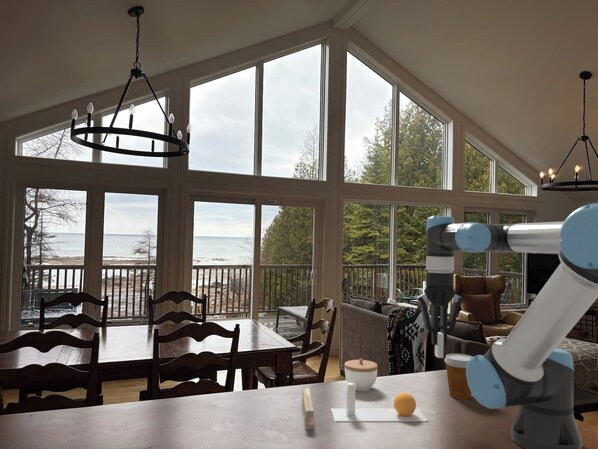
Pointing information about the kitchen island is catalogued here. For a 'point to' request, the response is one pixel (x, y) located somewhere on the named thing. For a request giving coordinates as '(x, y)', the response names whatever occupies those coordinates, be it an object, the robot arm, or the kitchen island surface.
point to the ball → (404, 404)
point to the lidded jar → (361, 373)
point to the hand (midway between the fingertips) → (439, 356)
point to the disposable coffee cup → (457, 375)
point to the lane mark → (376, 415)
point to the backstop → (307, 408)
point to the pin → (350, 399)
